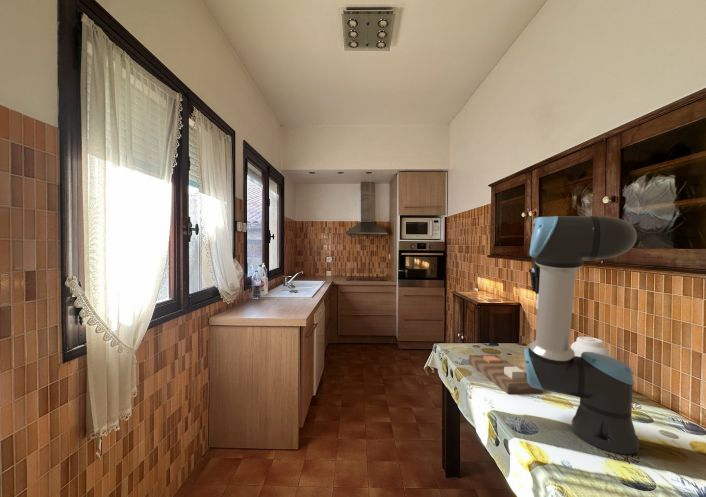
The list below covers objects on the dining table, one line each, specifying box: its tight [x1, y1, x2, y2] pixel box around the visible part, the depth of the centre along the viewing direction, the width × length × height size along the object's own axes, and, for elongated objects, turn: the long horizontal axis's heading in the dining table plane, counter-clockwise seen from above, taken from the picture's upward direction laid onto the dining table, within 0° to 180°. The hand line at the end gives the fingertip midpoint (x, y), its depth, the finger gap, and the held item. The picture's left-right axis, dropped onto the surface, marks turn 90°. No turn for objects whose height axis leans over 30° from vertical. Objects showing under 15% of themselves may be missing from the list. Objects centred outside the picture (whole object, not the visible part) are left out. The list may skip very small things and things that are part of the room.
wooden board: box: [468, 354, 544, 395], centre depth 131 cm, size 30×14×4 cm, turn 7°
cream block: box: [504, 366, 526, 379], centre depth 123 cm, size 5×5×4 cm
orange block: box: [483, 356, 500, 363], centre depth 139 cm, size 5×5×4 cm
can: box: [569, 335, 611, 357], centre depth 122 cm, size 12×12×20 cm
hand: (540, 309), depth 131 cm, fingers closed
